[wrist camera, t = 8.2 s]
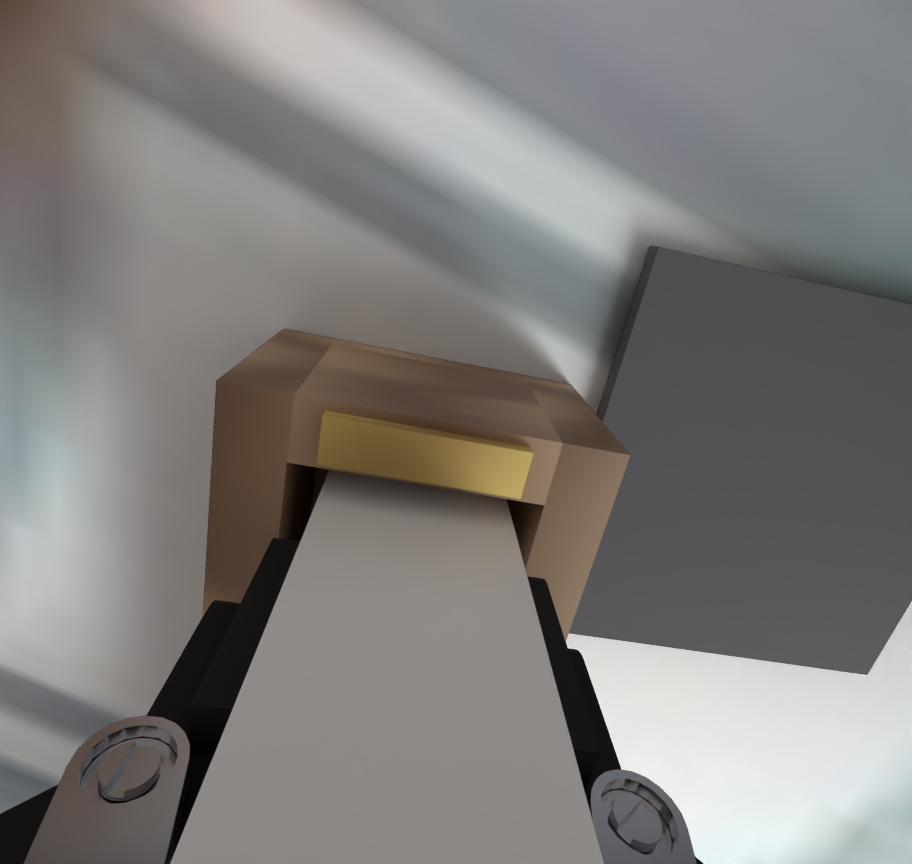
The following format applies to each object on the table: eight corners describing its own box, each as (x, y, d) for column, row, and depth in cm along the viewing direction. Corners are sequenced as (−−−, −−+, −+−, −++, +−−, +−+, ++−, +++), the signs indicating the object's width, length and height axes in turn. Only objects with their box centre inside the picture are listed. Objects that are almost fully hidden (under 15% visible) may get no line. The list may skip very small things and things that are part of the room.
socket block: (570, 384, 16) (635, 461, 11) (455, 780, 21) (463, 951, 16) (283, 329, 15) (210, 385, 10) (241, 757, 20) (180, 931, 15)
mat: (1046, 335, 16) (1068, 340, 15) (854, 662, 20) (867, 674, 19) (650, 246, 14) (658, 247, 14) (533, 616, 19) (536, 628, 18)
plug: (503, 486, 13) (736, 1366, 3) (467, 621, 15) (549, 1532, 4) (333, 458, 13) (-40, 1379, 3) (313, 600, 14) (18, 1560, 4)
